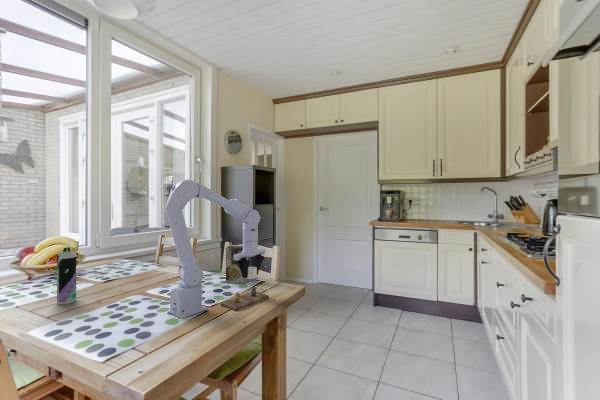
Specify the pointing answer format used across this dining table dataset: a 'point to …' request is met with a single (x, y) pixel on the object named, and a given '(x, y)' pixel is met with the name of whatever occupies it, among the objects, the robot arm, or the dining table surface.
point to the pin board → (244, 300)
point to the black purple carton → (66, 277)
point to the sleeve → (251, 275)
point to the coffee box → (233, 265)
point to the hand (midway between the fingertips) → (250, 276)
